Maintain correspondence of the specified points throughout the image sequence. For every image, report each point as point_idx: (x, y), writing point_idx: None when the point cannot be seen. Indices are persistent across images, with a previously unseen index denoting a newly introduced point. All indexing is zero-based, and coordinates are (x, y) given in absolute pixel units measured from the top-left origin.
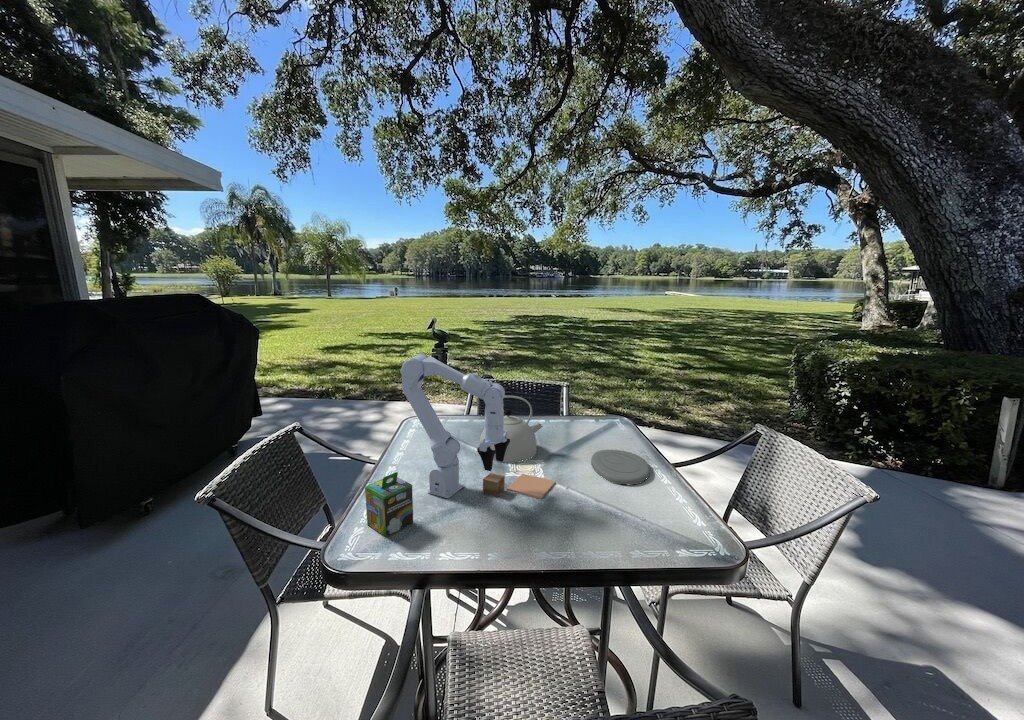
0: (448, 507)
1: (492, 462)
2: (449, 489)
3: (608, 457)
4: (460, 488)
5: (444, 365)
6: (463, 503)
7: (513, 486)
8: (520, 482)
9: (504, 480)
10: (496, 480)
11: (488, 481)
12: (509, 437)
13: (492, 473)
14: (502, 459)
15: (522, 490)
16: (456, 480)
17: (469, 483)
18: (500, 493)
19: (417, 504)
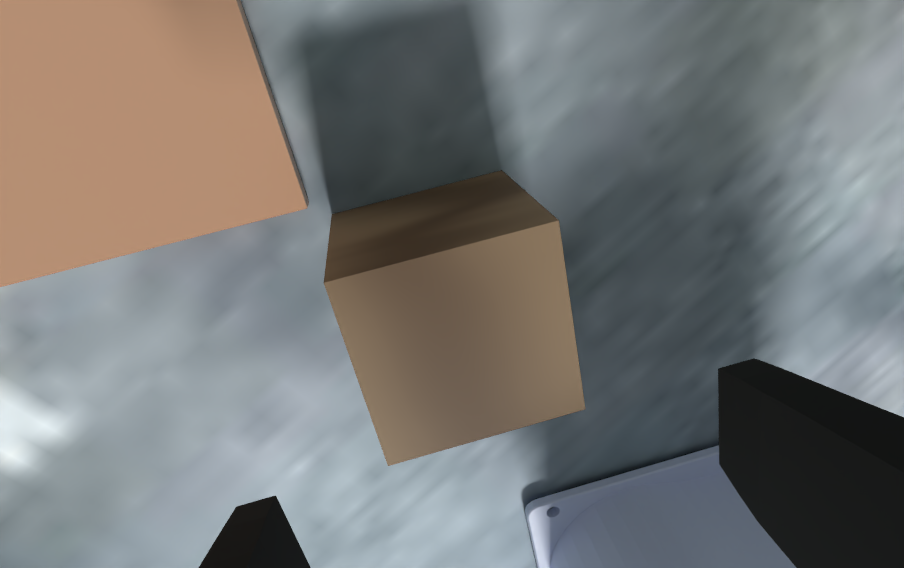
0: (850, 343)
1: (897, 460)
2: (733, 501)
3: None
4: (594, 486)
5: None
6: (752, 310)
7: (206, 178)
8: (49, 183)
9: (330, 256)
10: (515, 268)
11: (569, 334)
12: None
13: (388, 440)
14: (266, 536)
15: (190, 10)
16: (678, 556)
17: (458, 512)
18: (424, 193)
19: None
